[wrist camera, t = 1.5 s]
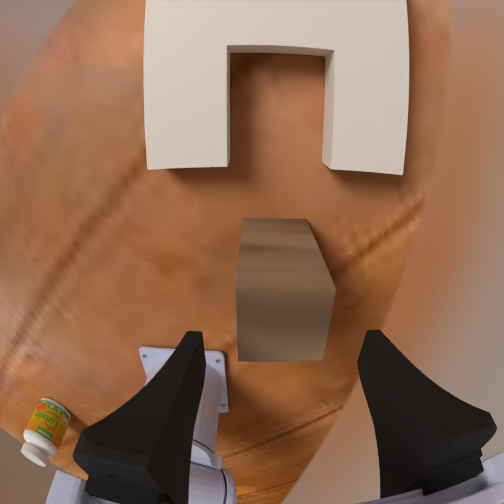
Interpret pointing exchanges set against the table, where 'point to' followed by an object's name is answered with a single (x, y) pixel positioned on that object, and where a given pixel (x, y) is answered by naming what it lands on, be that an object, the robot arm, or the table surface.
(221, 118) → the socket block
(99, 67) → the table surface
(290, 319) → the peg
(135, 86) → the table surface
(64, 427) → the supplement bottle
